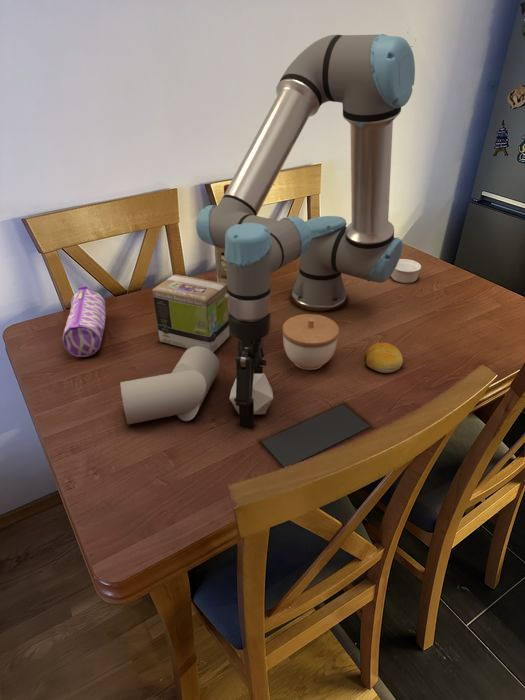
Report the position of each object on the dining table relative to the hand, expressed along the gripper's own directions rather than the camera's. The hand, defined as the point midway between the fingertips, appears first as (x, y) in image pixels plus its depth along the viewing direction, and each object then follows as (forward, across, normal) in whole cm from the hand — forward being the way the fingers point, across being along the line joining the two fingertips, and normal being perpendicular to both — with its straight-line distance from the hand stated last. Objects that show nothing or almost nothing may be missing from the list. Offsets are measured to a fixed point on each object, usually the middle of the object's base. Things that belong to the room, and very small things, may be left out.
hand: (251, 407), depth 100 cm
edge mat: (0, +5, +14) cm, 15 cm away
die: (+1, 0, 0) cm, 1 cm away
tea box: (+1, -24, -19) cm, 31 cm away
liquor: (+1, -53, -15) cm, 55 cm away
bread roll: (+1, -21, +27) cm, 34 cm away
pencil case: (+1, -21, -46) cm, 51 cm away
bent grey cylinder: (+1, +1, -17) cm, 17 cm away
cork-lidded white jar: (+1, -19, +10) cm, 21 cm away
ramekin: (+1, -68, +35) cm, 76 cm away
